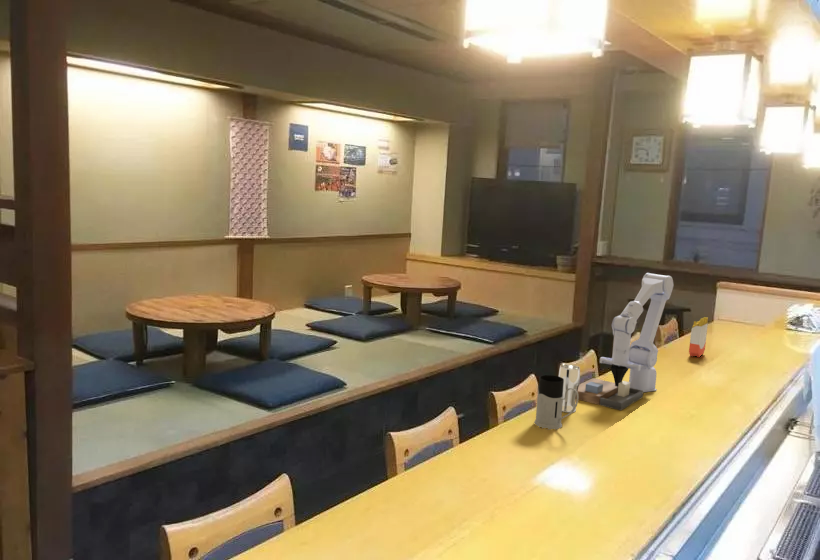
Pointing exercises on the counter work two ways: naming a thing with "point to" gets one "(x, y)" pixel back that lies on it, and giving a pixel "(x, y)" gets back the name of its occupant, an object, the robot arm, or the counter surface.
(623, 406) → the tray
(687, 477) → the counter surface
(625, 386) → the white tile
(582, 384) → the walnut board
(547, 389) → the grey black mug
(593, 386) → the blue-gray block
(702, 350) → the french fries container
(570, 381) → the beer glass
